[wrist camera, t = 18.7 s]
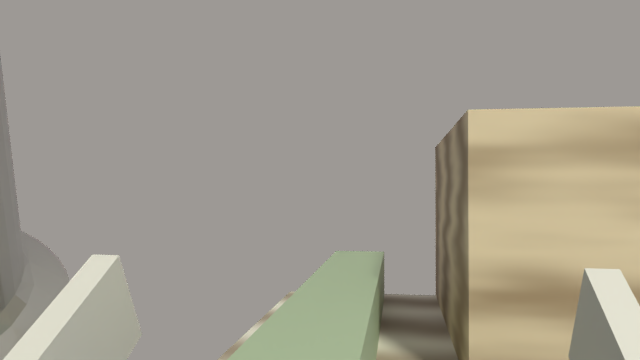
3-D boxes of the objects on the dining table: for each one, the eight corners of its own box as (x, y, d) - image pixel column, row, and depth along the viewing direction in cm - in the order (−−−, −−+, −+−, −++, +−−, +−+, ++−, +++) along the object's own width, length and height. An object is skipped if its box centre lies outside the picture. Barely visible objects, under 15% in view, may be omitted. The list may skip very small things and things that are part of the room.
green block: (352, 541, 11) (352, 392, 11) (201, 527, 12) (201, 384, 12) (384, 297, 37) (384, 251, 37) (336, 295, 38) (336, 250, 38)
